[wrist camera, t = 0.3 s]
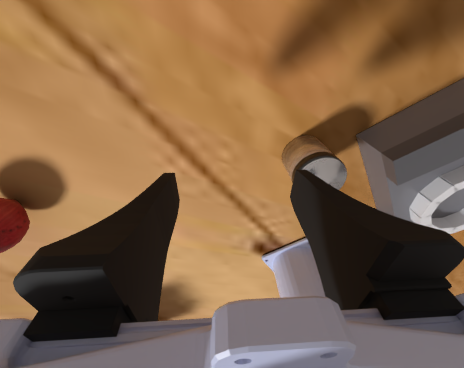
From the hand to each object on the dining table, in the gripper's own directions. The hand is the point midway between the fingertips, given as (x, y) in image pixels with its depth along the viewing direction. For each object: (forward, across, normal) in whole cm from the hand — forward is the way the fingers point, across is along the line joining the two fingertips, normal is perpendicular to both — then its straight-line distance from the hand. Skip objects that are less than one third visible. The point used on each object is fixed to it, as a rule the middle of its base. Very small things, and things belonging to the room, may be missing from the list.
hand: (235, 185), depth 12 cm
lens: (+9, -8, +3) cm, 13 cm away
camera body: (+9, -22, +4) cm, 24 cm away
